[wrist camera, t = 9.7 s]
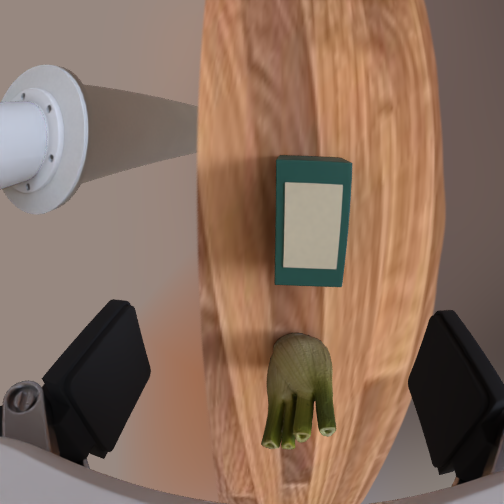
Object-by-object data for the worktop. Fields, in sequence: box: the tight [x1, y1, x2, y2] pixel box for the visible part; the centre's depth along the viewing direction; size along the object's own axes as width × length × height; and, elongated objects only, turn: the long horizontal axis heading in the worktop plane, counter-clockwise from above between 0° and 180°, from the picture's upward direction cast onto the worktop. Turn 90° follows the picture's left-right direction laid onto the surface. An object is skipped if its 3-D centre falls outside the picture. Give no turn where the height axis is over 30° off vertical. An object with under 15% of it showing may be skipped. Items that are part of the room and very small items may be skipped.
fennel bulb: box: [261, 333, 336, 449], centre depth 24 cm, size 6×5×12 cm
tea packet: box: [275, 155, 352, 287], centre depth 23 cm, size 9×5×5 cm, turn 1°
